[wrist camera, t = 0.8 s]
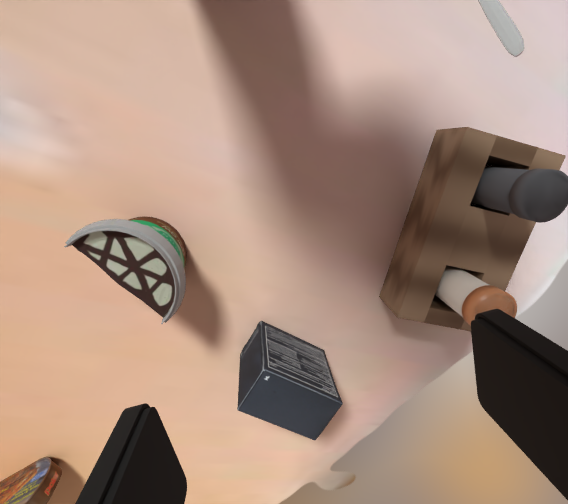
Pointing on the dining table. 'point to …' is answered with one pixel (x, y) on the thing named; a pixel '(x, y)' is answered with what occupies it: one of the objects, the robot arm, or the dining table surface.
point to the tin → (31, 483)
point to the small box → (286, 382)
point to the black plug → (523, 192)
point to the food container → (139, 258)
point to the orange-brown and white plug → (472, 294)
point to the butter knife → (503, 26)
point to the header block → (458, 224)
